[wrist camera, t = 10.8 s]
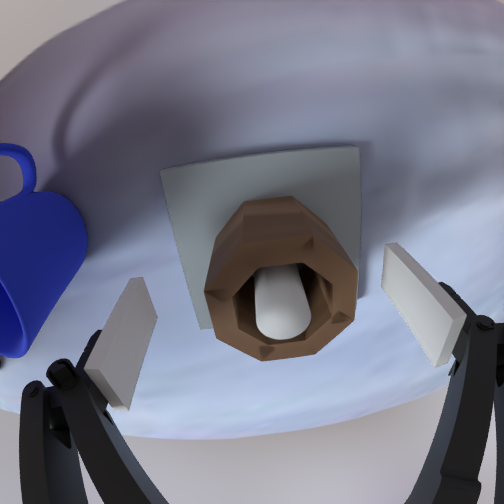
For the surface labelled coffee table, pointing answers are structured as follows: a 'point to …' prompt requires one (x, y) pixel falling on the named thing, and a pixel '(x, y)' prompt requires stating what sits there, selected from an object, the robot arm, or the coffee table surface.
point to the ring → (272, 254)
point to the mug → (34, 255)
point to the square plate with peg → (255, 188)
